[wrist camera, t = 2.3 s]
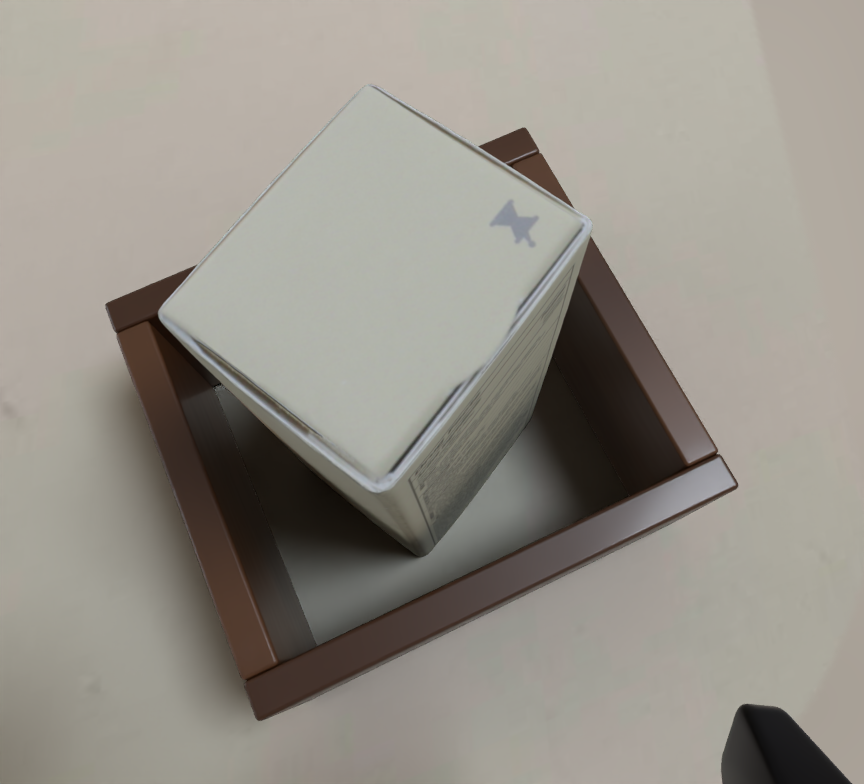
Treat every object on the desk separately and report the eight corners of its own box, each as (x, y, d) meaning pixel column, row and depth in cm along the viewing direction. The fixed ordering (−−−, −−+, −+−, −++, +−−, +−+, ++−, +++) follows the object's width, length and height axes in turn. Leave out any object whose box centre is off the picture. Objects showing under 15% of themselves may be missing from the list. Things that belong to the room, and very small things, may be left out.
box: (415, 329, 23) (380, 57, 12) (537, 418, 22) (616, 207, 11) (295, 472, 21) (139, 310, 11) (419, 572, 20) (381, 501, 10)
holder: (676, 521, 21) (741, 486, 16) (305, 702, 20) (255, 723, 15) (511, 229, 23) (525, 124, 19) (178, 374, 22) (102, 302, 18)
